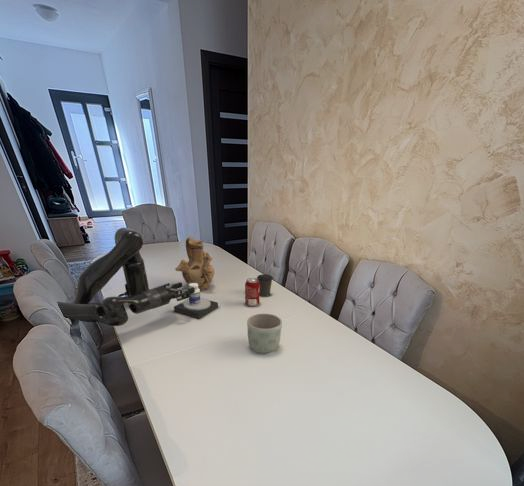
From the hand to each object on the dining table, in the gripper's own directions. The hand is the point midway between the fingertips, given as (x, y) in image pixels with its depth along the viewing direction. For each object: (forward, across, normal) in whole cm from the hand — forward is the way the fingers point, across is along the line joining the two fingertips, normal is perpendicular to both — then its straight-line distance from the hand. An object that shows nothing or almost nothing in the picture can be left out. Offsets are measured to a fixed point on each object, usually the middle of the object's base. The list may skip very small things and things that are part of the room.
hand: (187, 287), depth 132 cm
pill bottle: (+3, 0, -9) cm, 9 cm away
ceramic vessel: (+21, -19, -12) cm, 31 cm away
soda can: (+25, +15, -12) cm, 32 cm away
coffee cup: (+39, +11, -12) cm, 42 cm away
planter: (0, +44, -12) cm, 45 cm away
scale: (+3, 0, -12) cm, 12 cm away
